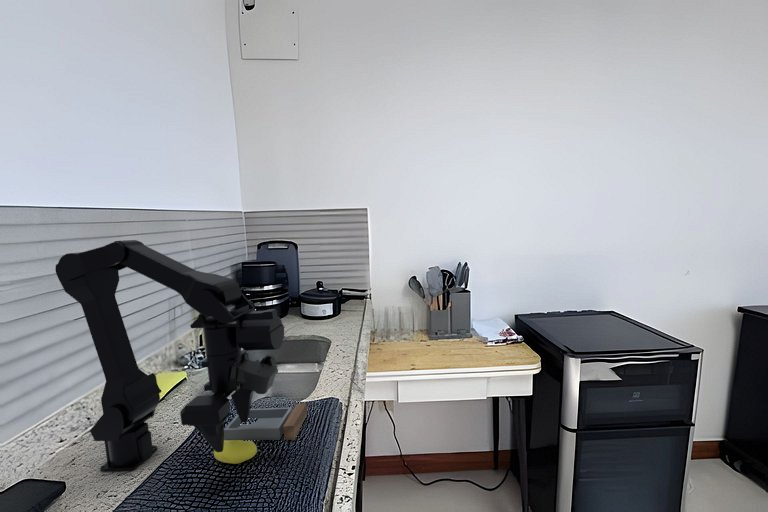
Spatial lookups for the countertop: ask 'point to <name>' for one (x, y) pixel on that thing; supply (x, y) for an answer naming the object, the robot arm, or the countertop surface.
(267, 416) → the tray
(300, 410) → the rail
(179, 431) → the countertop surface
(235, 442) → the lemon
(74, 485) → the countertop surface
